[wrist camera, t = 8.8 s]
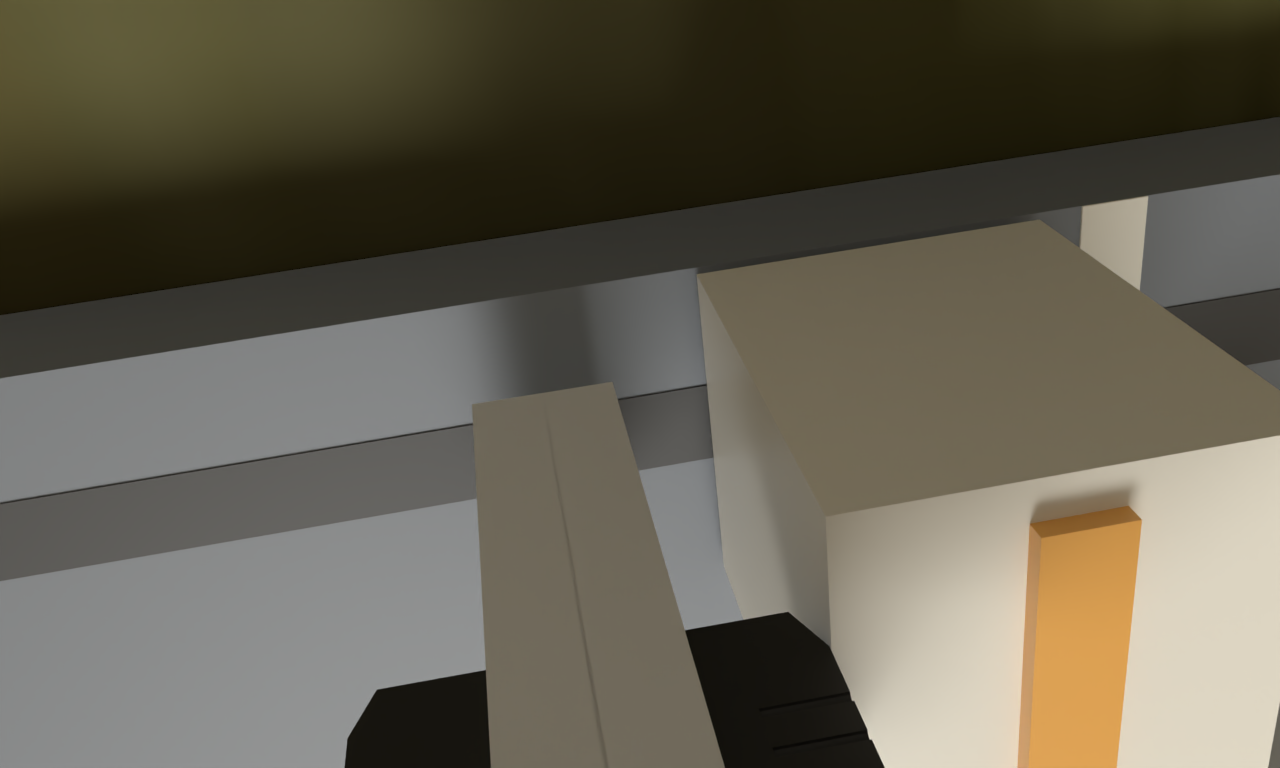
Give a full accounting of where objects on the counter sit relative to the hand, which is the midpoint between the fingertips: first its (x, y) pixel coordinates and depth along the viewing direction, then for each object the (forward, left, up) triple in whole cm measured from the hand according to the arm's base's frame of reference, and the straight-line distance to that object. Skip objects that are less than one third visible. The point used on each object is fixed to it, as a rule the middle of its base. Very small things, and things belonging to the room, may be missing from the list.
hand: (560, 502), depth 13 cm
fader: (0, +4, -1) cm, 4 cm away
